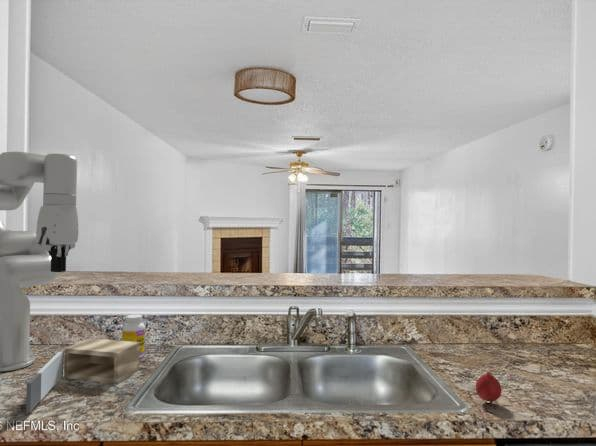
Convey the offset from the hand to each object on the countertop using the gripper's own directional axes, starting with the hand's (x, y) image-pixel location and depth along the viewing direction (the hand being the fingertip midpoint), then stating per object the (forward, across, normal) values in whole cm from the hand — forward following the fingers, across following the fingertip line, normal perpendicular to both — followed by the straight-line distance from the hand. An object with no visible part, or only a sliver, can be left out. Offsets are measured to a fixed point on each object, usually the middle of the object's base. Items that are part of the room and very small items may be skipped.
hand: (58, 271), depth 109 cm
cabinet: (+29, -8, +8) cm, 31 cm away
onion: (+29, -13, +110) cm, 115 cm away
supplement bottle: (+29, -23, +8) cm, 38 cm away
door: (+28, +8, +4) cm, 29 cm away
